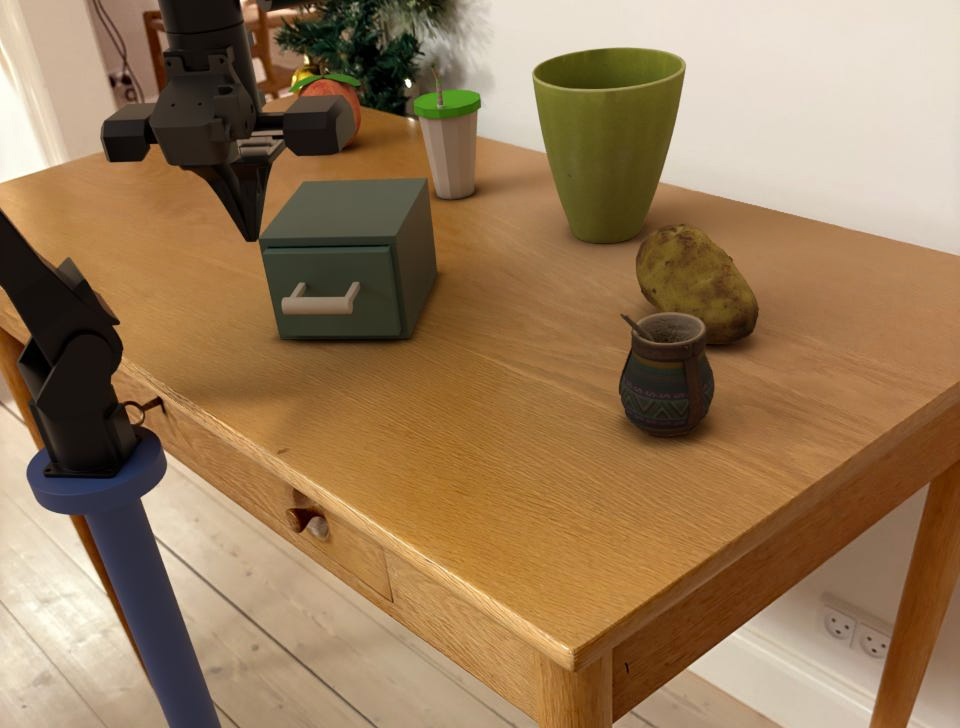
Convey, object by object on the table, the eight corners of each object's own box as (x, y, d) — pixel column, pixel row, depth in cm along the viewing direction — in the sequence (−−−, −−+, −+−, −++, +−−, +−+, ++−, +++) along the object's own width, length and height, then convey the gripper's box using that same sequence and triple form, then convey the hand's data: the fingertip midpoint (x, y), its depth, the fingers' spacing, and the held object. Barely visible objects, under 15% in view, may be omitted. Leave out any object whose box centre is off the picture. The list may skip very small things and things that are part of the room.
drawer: (387, 361, 92) (374, 274, 87) (264, 361, 94) (244, 276, 89) (427, 275, 105) (418, 195, 100) (318, 276, 107) (304, 198, 102)
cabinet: (409, 339, 97) (395, 235, 90) (279, 339, 99) (257, 238, 92) (437, 274, 107) (427, 177, 101) (320, 275, 110) (303, 181, 103)
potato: (673, 366, 89) (678, 274, 84) (623, 306, 98) (625, 220, 93) (765, 349, 90) (775, 257, 85) (707, 291, 99) (713, 205, 94)
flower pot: (705, 236, 109) (717, 67, 99) (582, 271, 105) (580, 98, 95) (629, 196, 120) (632, 39, 109) (514, 226, 115) (505, 66, 105)
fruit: (308, 138, 146) (294, 59, 139) (375, 135, 145) (364, 55, 138) (294, 159, 140) (278, 76, 133) (363, 155, 138) (351, 72, 132)
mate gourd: (732, 425, 81) (744, 302, 74) (656, 459, 78) (662, 335, 72) (670, 391, 86) (677, 272, 79) (597, 421, 83) (597, 301, 76)
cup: (455, 177, 129) (443, 41, 119) (501, 188, 125) (492, 48, 115) (409, 196, 125) (392, 57, 115) (455, 209, 121) (441, 65, 111)
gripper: (34, 60, 71) (107, 282, 81) (296, 46, 68) (337, 279, 78) (102, 21, 79) (161, 228, 89) (339, 7, 76) (371, 223, 86)
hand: (252, 240), depth 86 cm, fingers closed
